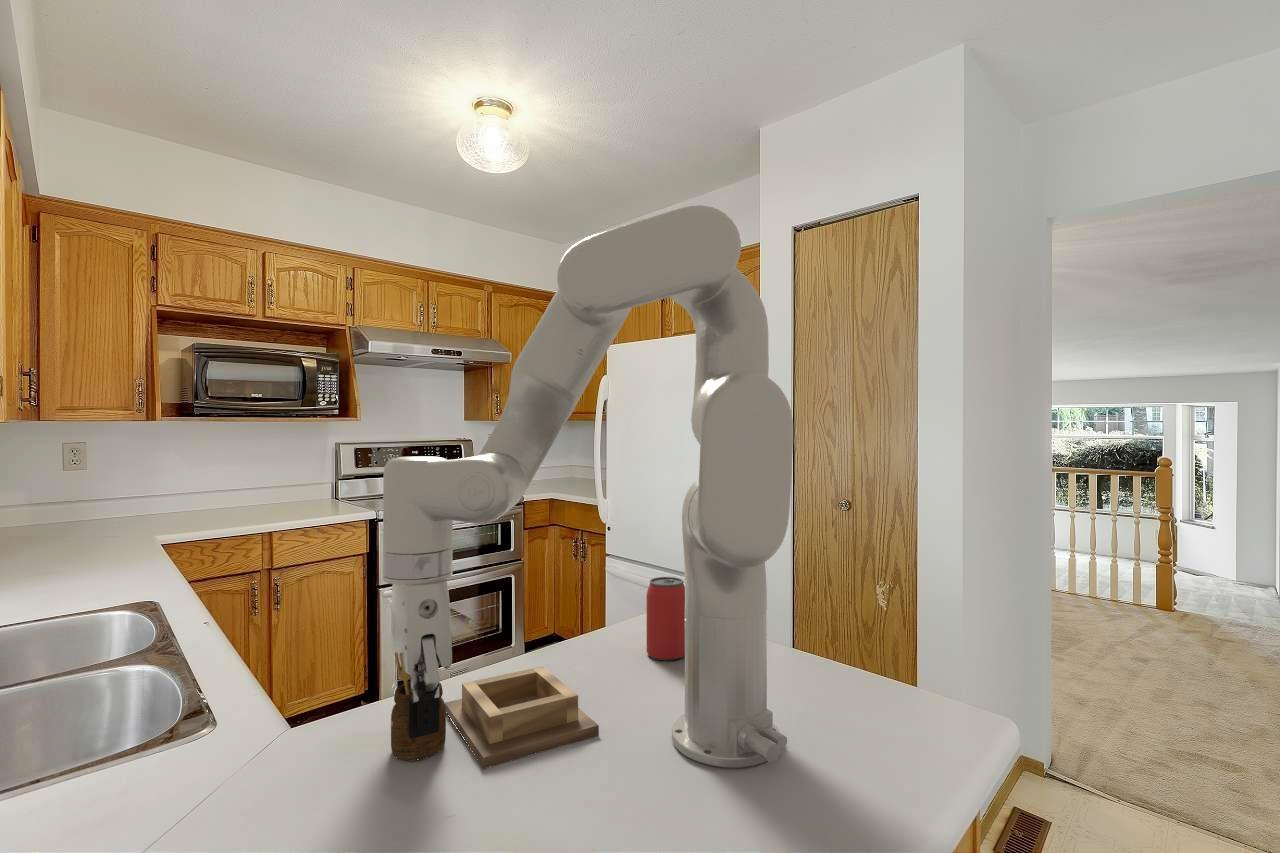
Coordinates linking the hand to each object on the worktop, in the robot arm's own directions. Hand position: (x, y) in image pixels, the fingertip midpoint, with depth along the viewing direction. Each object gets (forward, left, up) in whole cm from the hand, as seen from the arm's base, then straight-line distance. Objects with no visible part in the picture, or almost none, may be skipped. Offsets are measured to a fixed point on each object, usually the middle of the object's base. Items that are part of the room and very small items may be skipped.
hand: (417, 721), depth 71 cm
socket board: (0, -12, -3) cm, 12 cm away
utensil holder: (0, 0, -3) cm, 3 cm away
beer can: (+10, -41, -3) cm, 42 cm away
